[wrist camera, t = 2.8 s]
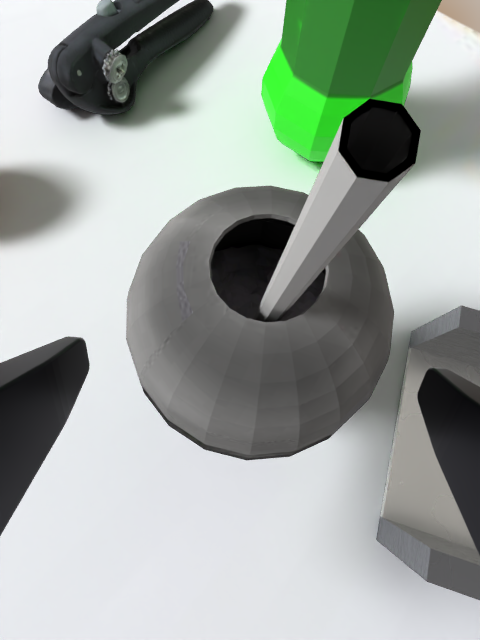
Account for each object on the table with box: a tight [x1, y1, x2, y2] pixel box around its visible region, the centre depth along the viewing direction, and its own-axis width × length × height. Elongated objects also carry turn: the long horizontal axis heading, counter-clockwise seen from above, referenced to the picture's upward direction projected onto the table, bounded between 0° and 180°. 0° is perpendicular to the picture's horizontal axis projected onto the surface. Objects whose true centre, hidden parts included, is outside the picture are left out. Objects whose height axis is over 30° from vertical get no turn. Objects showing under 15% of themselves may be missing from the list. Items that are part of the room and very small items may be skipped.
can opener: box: [38, 0, 213, 114], centre depth 26 cm, size 18×7×6 cm, turn 142°
